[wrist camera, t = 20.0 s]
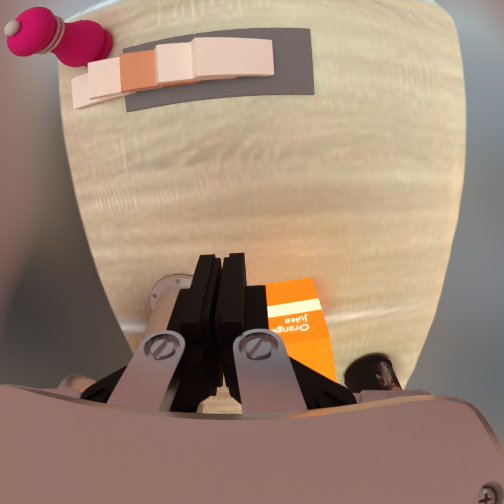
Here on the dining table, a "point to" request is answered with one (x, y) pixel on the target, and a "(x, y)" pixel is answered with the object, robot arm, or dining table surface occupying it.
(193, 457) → the robot arm
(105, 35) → the pepper mill
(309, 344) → the orange juice
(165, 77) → the domino
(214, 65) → the domino
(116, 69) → the domino
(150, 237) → the dining table surface
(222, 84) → the mat
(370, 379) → the container
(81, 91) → the domino
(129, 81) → the domino
